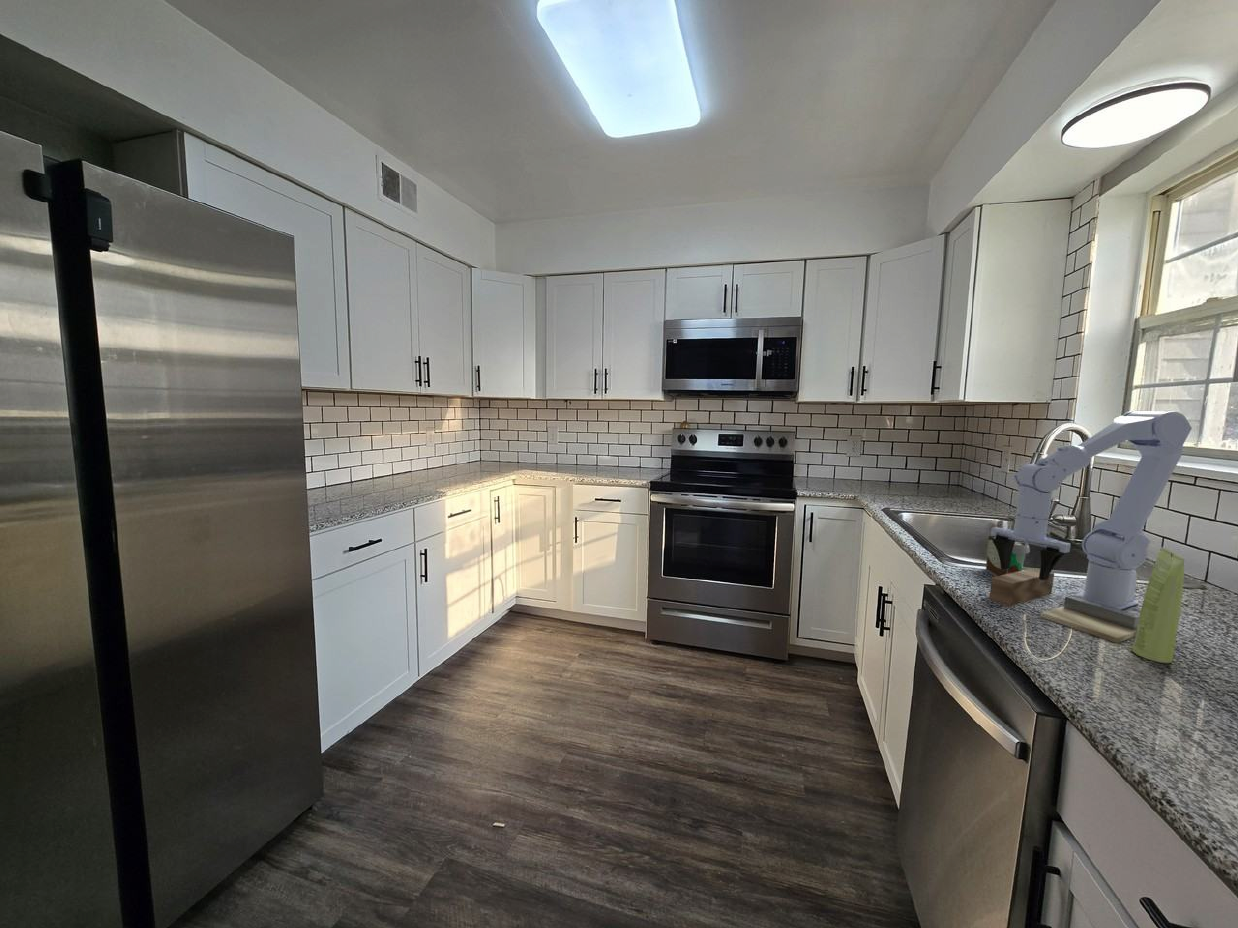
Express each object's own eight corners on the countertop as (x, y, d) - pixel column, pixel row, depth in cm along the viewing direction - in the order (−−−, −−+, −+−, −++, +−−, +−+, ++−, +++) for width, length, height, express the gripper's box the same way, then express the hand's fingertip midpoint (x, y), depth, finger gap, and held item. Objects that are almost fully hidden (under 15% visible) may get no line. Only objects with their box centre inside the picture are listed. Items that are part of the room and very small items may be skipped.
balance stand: (1083, 604, 110) (1086, 589, 109) (1158, 626, 99) (1161, 610, 99) (1040, 616, 102) (1043, 601, 102) (1117, 643, 92) (1120, 625, 91)
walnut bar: (1031, 589, 119) (1034, 567, 118) (1051, 595, 115) (1054, 573, 115) (988, 600, 111) (991, 577, 111) (1008, 607, 108) (1012, 583, 107)
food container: (1037, 586, 120) (1042, 547, 119) (1008, 584, 122) (1014, 545, 120) (1008, 570, 132) (1013, 534, 131) (982, 567, 133) (987, 532, 132)
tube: (1184, 664, 84) (1205, 556, 82) (1163, 667, 83) (1183, 557, 81) (1143, 648, 90) (1161, 546, 87) (1123, 650, 89) (1141, 547, 86)
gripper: (986, 510, 116) (979, 565, 117) (1062, 525, 103) (1052, 587, 104) (1003, 509, 119) (996, 562, 120) (1078, 523, 106) (1069, 582, 107)
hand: (1023, 573), depth 113 cm, fingers open, 7 cm apart
